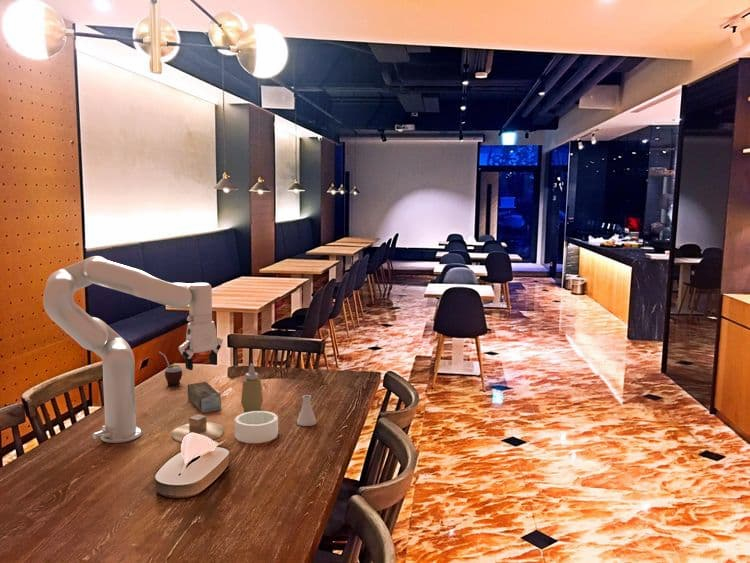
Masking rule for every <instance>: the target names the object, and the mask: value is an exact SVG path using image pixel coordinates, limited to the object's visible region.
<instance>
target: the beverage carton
mask: <svg viewBox="0 0 750 563" xmlns="http://www.w3.org/2000/svg"><path fill="white" fill-rule="evenodd" d="M187 397H188V399H189V401H190V402H191V403H192V404H193V405H194V406H195V407H196V408H197V409H198V410H199V411H200V412H201V413H203V414H204V413H208V412H214V411H220V410H222V398H221V395H220V394H219V393H218V391H216V389H215V388H213V386H211V385H210V384H209V383H208V382H207V381H202V382H196V383H190V384H187Z"/></svg>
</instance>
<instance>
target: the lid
mask: <svg viewBox="0 0 750 563" xmlns="http://www.w3.org/2000/svg"><path fill="white" fill-rule="evenodd" d="M188 422H189V423H186V424H183V425H180V426H178V427H176V428H175V429H173V430H172V431H171V438H172V440H174V441H177V442H178V441H179V443H182V442H181V440H182V438H183V437H184V436H185V435H186V434H187V433H189V432H195V433H198V434H202V435H205V436H208V437H209V438H211V439H213V440H212V441H214V440H216V438H217V439H219V438H220V437H222V436H221V435H222V434H223V435H224V433H225V429H224V427H223V425H221V424H219V423H216V422H211V421H210V422H209V421H207V415H203V414H198V413H197V414H194V415H192V416H191V417H188ZM218 437H219V438H218Z"/></svg>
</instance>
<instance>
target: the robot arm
mask: <svg viewBox="0 0 750 563" xmlns="http://www.w3.org/2000/svg"><path fill="white" fill-rule="evenodd" d="M45 284H46V285H45V288H44V291H43V295H42V296H43V297H42V305H43V309H44V311H45V313H46V315H47V316H48V317H49V318H50V319H51V320H52V321H53V322H54V323H55V324H56V326H59V328H61V330H63V331H64V332H65V333H66V334H67V335H69V337H71V338H72V339H73V340H74V341H75V342H76V343H77V344H79V346H80V347H82V348H83V349H84V350H86V351H87V350H88V351H91V352H93V353H94V354H95V355H96V356H98V357H100V359H101V361H102V362H101V363H102V384H103V385H102V387H103V388H102V389H103V403H104V425H102V428H101V429H100V431H96V432H95V431H94V432H93V433H92V438H93V439H94V440H96V439H99V438H100V440H101V441H103V442H105V443H111V444H112V443H113V444H115V443H116V444H119V443H126V442H130V441H134V440H135V439H137V438H139V437H140V436H141V435H142V430H141V428H140V427H138V426H137V417H136V416H137V414H136V412H137V411H136V391H135V390H136V389H135V356H134V352H133V349H132V348H131V345H130V344H129V343H128V341H126V340H125V339H124V338H123V337H122V336H121V335H120V334H118V333H117V332H116V331H115V330H114V329H113V328H111V327H110V325H108V324H107V323H106V322H105V321H104V320H102V319H100V318H98V317H95V316H91V315H90V314H88V313H87V312H86V311H85V310H84V309H83V308H82V307H81V306H79V304H77V303H76V302H75V299H74V296H75V293H76V292H77V291H79V290H81V289H83V288H86V287H88V286H91V285H93V284H94V285H97V286H100V287H104V288H108V289H111V290H115V291H118V292H121V293H125V294H128V295H132V296H134V297H138V298H142V299H146V300H148V301H151V302H154V303H156V304H160V305H163V306H167V307H172V308H174V309H184V308H186V307H189V308H188V309H189V310H188V313H189V315H188V316H187V317H186V321H188V323H187V326H186V327H187V328H186V335H185V336H186V337H185V341H184V342H183V343H182V344H181V345H179V346H178V351H179V352H180V355H181V356H182V357H183V358H184V359H185V360H184V361H185V362H184V363H185V364H184V365H185V368H186V370H189V371H193V370H194V359H193V358H192V357H193V355H194V354H200V353H204V352H209V364H210V365H215V366H216V365H217V359H218V358H217V357H218V356H217V354H218V353H219V350H220V349H221V348H222V345H223V341H224V340H223V339H222V338H219V337H217V336H218V335H217V328H216V324H215V321H213V300H212V299H213V298H212V296H213V290H212V285H211V284H210V283H208V282H193V283H186V282H169V281H166V280H162V279H160V278H158V277H155V276H153V275H151V274H149V273H148V272H146V271H143V270H141V269H138V268H135V267H131V266H128V265H124V264H121V263H118V262H114V261H111V260H108V259H106V258H105V257H103V256H100V255H94V256H89V257H87V258H85V259H83V260H80V261H78V262H75V263H73V264H70V265H68V266H65V267H62V268H59V269H58V270H56V271H54V272H52V273H51V274H50V275H49V277H48V278H47V281H46V283H45ZM185 349H186V350H185Z"/></svg>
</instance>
